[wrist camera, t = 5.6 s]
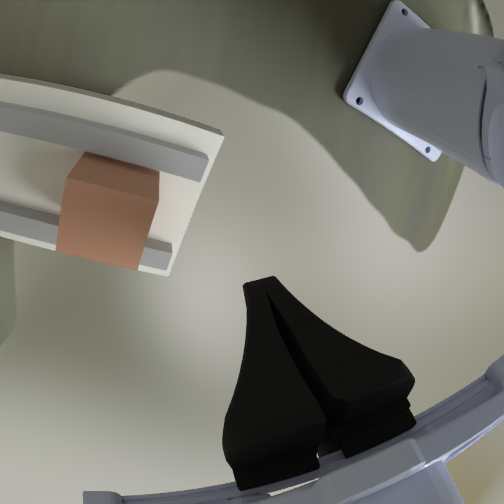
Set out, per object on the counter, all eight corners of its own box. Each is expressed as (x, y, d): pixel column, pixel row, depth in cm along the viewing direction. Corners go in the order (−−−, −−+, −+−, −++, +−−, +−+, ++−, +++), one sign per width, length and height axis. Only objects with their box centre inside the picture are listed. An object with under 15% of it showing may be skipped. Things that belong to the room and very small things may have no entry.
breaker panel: (220, 130, 16) (228, 142, 14) (167, 262, 20) (169, 287, 18) (-35, 69, 10) (-59, 75, 8) (-49, 207, 14) (-66, 227, 12)
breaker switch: (159, 171, 15) (158, 201, 13) (140, 231, 17) (137, 270, 14) (85, 151, 14) (66, 177, 11) (71, 214, 15) (55, 251, 12)
